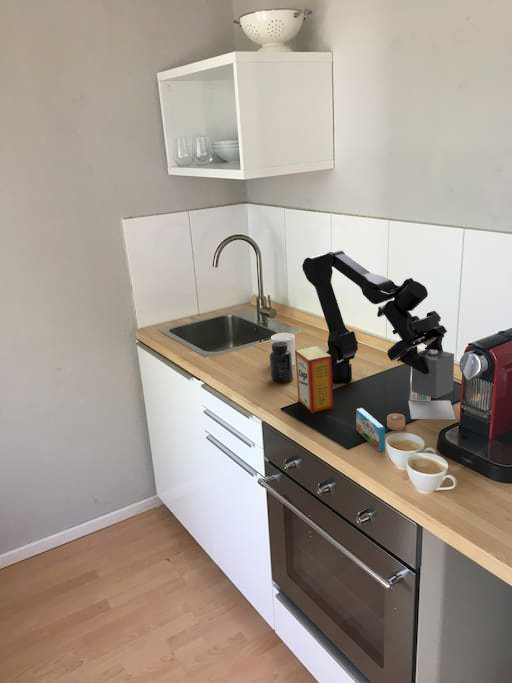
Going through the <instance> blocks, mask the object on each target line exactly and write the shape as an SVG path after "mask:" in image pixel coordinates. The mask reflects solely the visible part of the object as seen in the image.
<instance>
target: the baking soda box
mask: <svg viewBox="0 0 512 683" xmlns="http://www.w3.org/2000/svg"><path fill="white" fill-rule="evenodd" d="M326 352H327V351H324V349H322V348H320V347H319V346H317V345H313V346H309V347H305V348H299V349H295V366H296V367H295V368H296V385H297V398H298V399H297V400H298V402H299V401H300V402H301V403H302V404H303V405H305V406H306V407H307V408H308V409H309V410H310V411H311V412H318V411H322V410H326V411H328V410H327V409H330V410H332V409H333V408H334V390H333V383H332V361H331V355H329V354H328V353H326ZM300 402H299V403H300ZM301 403H300V404H301ZM302 404H301V405H302ZM303 405H302V406H303ZM311 412H310V413H311ZM322 412H323V411H322ZM318 413H319V412H318Z"/></svg>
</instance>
